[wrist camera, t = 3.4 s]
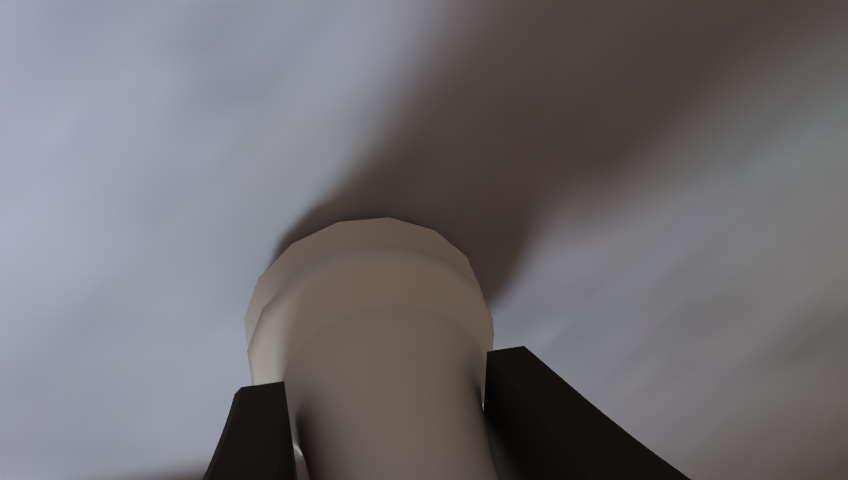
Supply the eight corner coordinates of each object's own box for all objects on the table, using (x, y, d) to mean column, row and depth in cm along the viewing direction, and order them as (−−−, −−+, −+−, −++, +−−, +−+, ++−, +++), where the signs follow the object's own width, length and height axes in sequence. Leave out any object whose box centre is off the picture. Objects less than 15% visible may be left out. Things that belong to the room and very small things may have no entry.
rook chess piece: (340, 432, 14) (420, 971, 7) (191, 301, 12) (90, 908, 5) (514, 316, 13) (783, 771, 6) (393, 156, 11) (612, 595, 4)
